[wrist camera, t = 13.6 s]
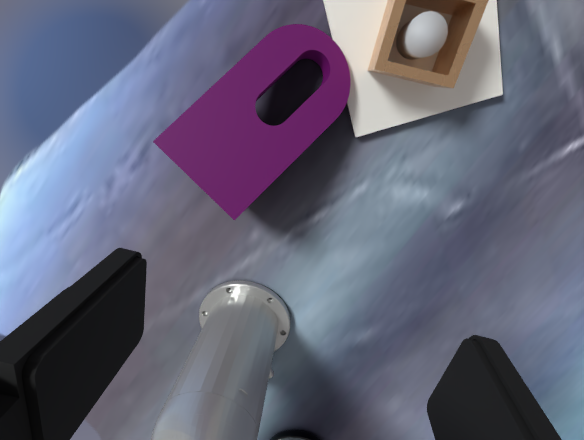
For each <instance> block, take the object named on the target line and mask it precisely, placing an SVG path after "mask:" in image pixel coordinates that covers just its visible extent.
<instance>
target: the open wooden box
mask: <svg viewBox="0 0 584 440" xmlns="http://www.w3.org/2000/svg"><path fill="white" fill-rule="evenodd" d="M488 1H489V0H388V1H387V5H386V8H385V12H384V15H383V18H382V22H381V25H380V29H379V32H378V36H377V39H376V43H375V46H374V50H373V53H372V57H371V60H370V64H369V67H368V70H367V71H371V72H375V73H380V74H384V75H388V76H392V77H396V78H400V79H404V80H408V81H413V82H417V83H421V84H425V85H429V86H433V87H442V88H454V86H455V84H456V81H457V79H458V76H459V74H460V71H461V69H462V66H463V64H464V61H465V59H466V56H467V54H468V51H469V48H470V46H471V43H472V41H473V38H474V36H475V33H476V31H477V28H478V26H479V23H480V21H481V18H482V16H483V13H484V11H485V8H486V6H487V3H488ZM405 4H408V5H412V6H416V7H420V8H424V9H429V10H433V11H437V12H441V13H445V14H449V15H452V17H451V20H450V23H449V25H448V34H447V38H446V41H445V43H444V45H443V46H442V48H441V49H440V50H439V53H438V56H437V58H436V61H435V64H434V67H433V69H432V72H431V71H427V70H423V69H419V68H415V67H411V66H406V65H402V64H398V63H394V62H390V61H388V57H389V54H390V51H391V48H392V44H393V41H394V38H395V35H396V31H397V28H398V25H399V22H400V18H401V15H402V12H403V9H404V5H405Z"/></svg>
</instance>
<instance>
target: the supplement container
mask: <svg viewBox="0 0 584 440" xmlns="http://www.w3.org/2000/svg"><path fill="white" fill-rule="evenodd" d="M270 440H320V439H319V438H318V437H316V436H315V435H313V434H311V433H309V432H306V431H302V430H286V431H282V432H279V433H277V434H275V435H274V436H273V437H272V438H271V439H270Z"/></svg>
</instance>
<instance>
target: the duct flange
mask: <svg viewBox="0 0 584 440" xmlns="http://www.w3.org/2000/svg"><path fill="white" fill-rule="evenodd" d="M387 1H388V0H323V2H324V6H325V10H326V14H327V19H328V23H329V27H330V32H331V36H332V39H333V40H334V41H335V42H336V44H337V45H338V46H339V48H340V49H341V51H342V52H343V54H344V56H345V58H346V61H347V63H348V67H349V71H350V79H351V86H350V93H349V97H348V101H347V104H348V109H349V113H350V117H351V121H352V126H353V130H354V134H355V137H359V136H362V135H366V134H369V133H373V132H376V131H380V130H383V129H386V128H390V127H393V126H397V125H400V124H404V123H407V122H411V121H414V120H417V119H421V118H424V117H428V116H431V115H435V114H438V113H441V112H445V111H448V110H452V109H455V108H459V107H462V106H466V105H469V104H472V103H476V102H479V101H483V100H486V99H490V98H493V97H497V96H500V95H503V89H502V74H501V59H500V44H499V29H498V14H497V0H489V1H488V3H487V6H486V8H485V11H484V13H483V16H482V18H481V21H480V23H479V26H478V28H477V31H476V33H475V36H474V38H473V41H472V43H471V46H470V48H469V51H468V54H467V56H466V59H465V61H464V64H463V66H462V69H461V71H460V74H459V76H458V79H457V81H456V84H455V86H454V88H442V87H433V86H429V85H425V84H421V83H417V82H413V81H408V80H404V79H400V78H396V77H392V76H388V75H384V74H380V73H375V72H371V71H367V70H368V67H369V64H370V60H371V57H372V53H373V50H374V46H375V43H376V39H377V36H378V32H379V29H380V25H381V22H382V18H383V15H384V12H385V8H386V5H387ZM451 17H452V15H449V14H445V13H441V12H437V11H433V10H429V9H424V8H420V7H416V6H412V5H408V4H405V5H404V9H403V12H402V15H401V18H400V22H399V25H398V28H397V31H396V35H395V38H394V41H393V44H392V48H391V51H390V54H389V57H388V61H390V62H394V63H398V64H402V65H406V66H411V67H415V68H419V69H423V70H427V71H431V72H432V69H433V67H434V64H435V61H436V58H437V56H438V53H439V50H440V49H441V48H442V46H443V45H444V43H445V41H446V38H447V34H448V25H449V23H450V20H451Z"/></svg>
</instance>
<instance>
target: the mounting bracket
mask: <svg viewBox="0 0 584 440" xmlns="http://www.w3.org/2000/svg"><path fill="white" fill-rule="evenodd" d="M301 59H311V60H313V61H315V62H316V63H317V64H318V65H319V66H320V67H321V70H322V72H323V81H322V84H321V86H320V87H319V89H318V90H316V91H315V92H314V93H313V94H312V95H311V96H310V97H309V98H308V99H307V100H306V101H305V102H304V103H303V104H302V105H301V106H300V107H299V108H298V109H297V110H296V111H295V112H294V113H293V114H292V115H291V116H290V117H289V118H288V119H287V120H286V121H285V122H284V123H282V124H280V125H277V126H271V125H267V124H265V123H264V122H262V121H261V120H260V119H259V117H258V116H257V113H256V110H255V103H256V101H257V100H258V99H259V98H260V97H261V96H262V95H263V94H264V93H265V92H266V91H267V90H268V89H269V88H270V87H271V86H272V85H273V84H274V83H275V82H276V81H277V80H278V79H280V78H281V77H282V76H283V75H284V74H285V73H286V72H287V71H288V70H289V69H290V68H291V67H292V66H293V65H294V64H295V63H296V62H297V61H299V60H301ZM350 86H351V79H350V71H349V67H348V63H347V61H346V58H345V56H344V54H343V52H342V51H341V49H340V48H339V46H338V45H337V44H336V42H335V41H334V40H333V39H332V38H330V37H329V36H328V35H327V34H325V33H324V32H322V31H320V30H319V29H316V28H314V27H311V26H307V25H302V24H293V25H286V26H283V27H280V28H278V29H276V30H274V31H272V32H271V33H269V34H268V35H267V36H266V37H265V38H264V39H262V40H261V41H260V42H259V43H258V44H257V45H256V46H255V47H254V48H253V49H252V50H251V51H250V52H249V53H247V54H246V55H245V56H244V57H243V58H242V59H241V60H240V61H239V62H238V63H237V64H236V65H235V66H233V67H232V68H231V69H230V70H229V71H228V72H227V73H226V74H225V75H224V76H223V77H222V78H221V79H220V80H218V81H217V82H216V83H215V84H214V85H213V86H212V87H211V88H210V89H209V90H208V91H207V92H206V93H205V94H203V95H202V96H201V97H200V98H199V99H198V100H197V101H196V102H195V103H194V104H193V105H192V106H191V107H190V108H188V109H187V110H186V111H185V112H184V113H183V114H182V115H181V116H180V117H179V118H178V119H177V120H176V121H175V122H173V123H172V124H171V125H170V126H169V127H168V128H167V129H166V130H165V131H164V132H163V133H162V134H161V135H159V136H158V137H157V138H156V139H155V140H154V141H153V142H154V143H155V144H156V145H157V146H158V147H159V148H160V149H161V150H162V151H163V152H164V153H165V154H166V155H167V156H168V157H169V158H170V159H172V160H173V161H174V162H175V163H176V164H177V165H178V166H179V167H180V168H181V169H182V170H183V171H184V172H185V173H186V174H187V175H188V176H189V177H190V178H191V179H192V180H193V181H194V182H195V183H196V184H197V185H198V186H199V187H200V188H201V189H203V190H204V191H205V192H206V193H207V194H208V195H209V196H210V197H211V198H212V199H213V200H214V201H215V202H216V203H217V204H218V205H219V206H220V207H221V208H222V209H223V210H224V211H225V212H226V213H227V214H228V215H229V216H230V217H231V218H232V219H233V220H235V219H236V218H237V217H238V216H239V215H240V214H241V213H242V212H243V211H244V210H245V209H246V208H247V207H248V206H249V205H250V204H251V203H252V202H253V201H254V200H255V199H256V198H257V197H258V196H259V195H260V194H261V193H262V192H263V191H264V190H265V189H266V188H267V187H268V186H269V185H270V184H271V183H272V182H273V181H274V180H275V179H276V178H277V177H278V176H279V175H280V174H281V173H282V172H283V171H284V170H285V169H286V168H287V167H288V166H290V165H291V164H292V163H293V162H294V161H295V160H296V159H297V158H298V157H299V156H300V155H301V154H302V153H303V152H304V151H305V150H306V149H307V148H308V147H309V146H310V145H311V144H312V143H313V142H314V141H315V140H316V139H317V138H318V137H319V136H320V135H321V134H322V133H323V132H324V131H325V130H326V129H327V128H328V127H329V126H330V125H331V124H332V123H333V122H334V121H335V120H336V119H337V117H338V116H339V115H340V114H341V112H342V111H343V109H344V107H345V105H346V103H347V101H348V97H349V93H350Z"/></svg>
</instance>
